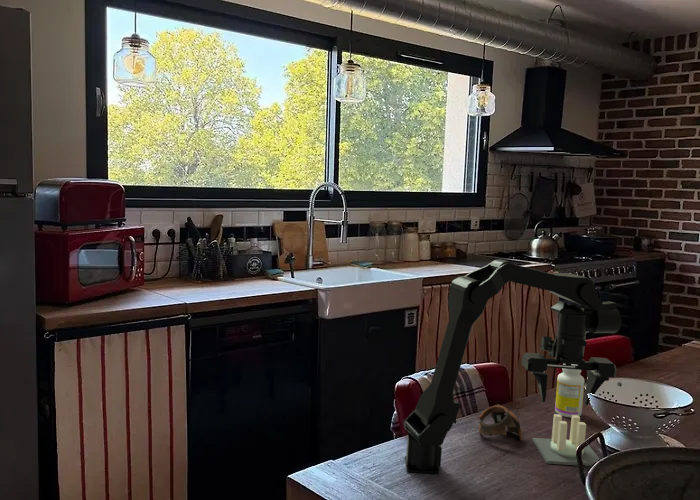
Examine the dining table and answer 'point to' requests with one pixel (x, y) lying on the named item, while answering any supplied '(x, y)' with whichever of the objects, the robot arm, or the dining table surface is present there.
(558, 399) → the supplement bottle
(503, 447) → the dining table surface
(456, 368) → the robot arm
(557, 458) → the mat
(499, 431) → the brown curved piece
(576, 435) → the stool
